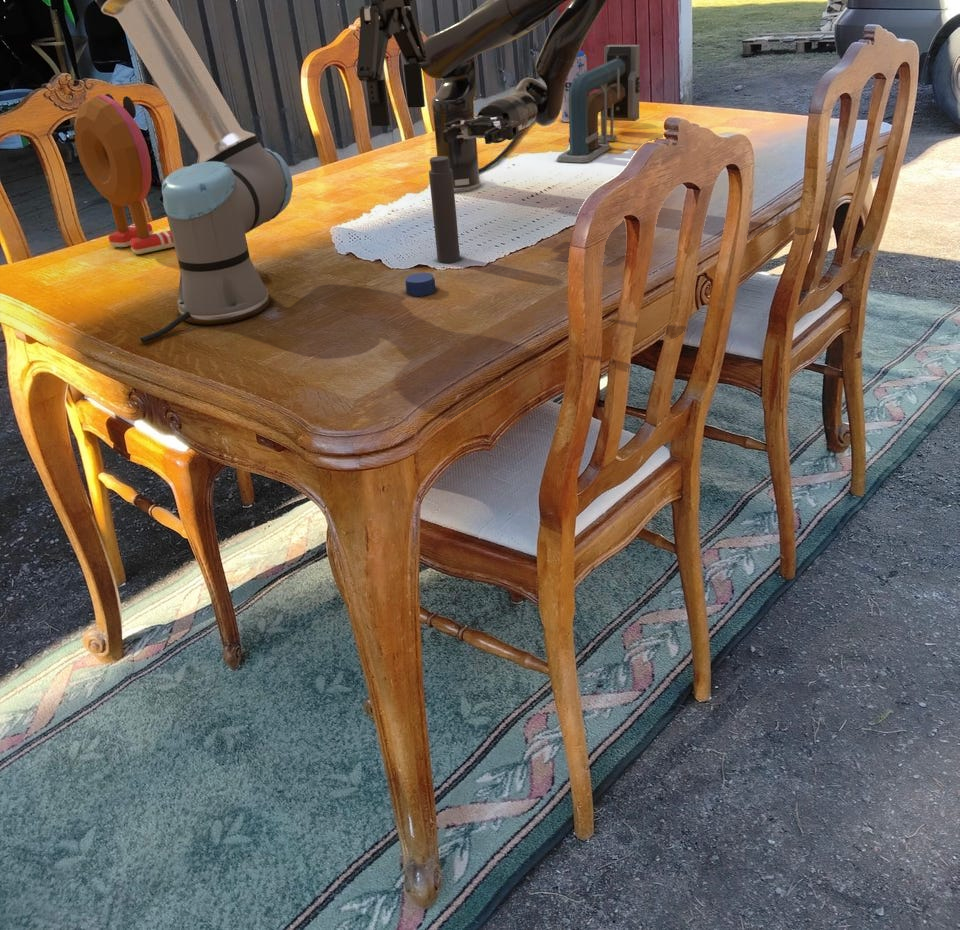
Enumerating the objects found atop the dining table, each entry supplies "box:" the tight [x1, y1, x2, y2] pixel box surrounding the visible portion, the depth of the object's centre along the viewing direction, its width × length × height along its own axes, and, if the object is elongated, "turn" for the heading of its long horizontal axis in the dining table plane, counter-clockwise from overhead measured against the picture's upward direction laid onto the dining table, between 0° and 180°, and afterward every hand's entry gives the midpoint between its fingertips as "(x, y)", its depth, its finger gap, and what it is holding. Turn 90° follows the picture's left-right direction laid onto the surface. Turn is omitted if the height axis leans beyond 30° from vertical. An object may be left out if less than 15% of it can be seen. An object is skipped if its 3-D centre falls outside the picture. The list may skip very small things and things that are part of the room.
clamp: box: [556, 44, 641, 164], centre depth 243 cm, size 35×9×21 cm, turn 151°
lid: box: [405, 272, 436, 297], centre depth 166 cm, size 5×5×2 cm
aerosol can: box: [560, 49, 588, 123], centre depth 273 cm, size 8×8×20 cm
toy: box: [73, 93, 175, 255], centre depth 194 cm, size 21×10×30 cm, turn 47°
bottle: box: [428, 155, 461, 264], centre depth 175 cm, size 4×4×18 cm
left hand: (399, 116), depth 152 cm, fingers open, 13 cm apart
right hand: (465, 137), depth 178 cm, fingers open, 8 cm apart
